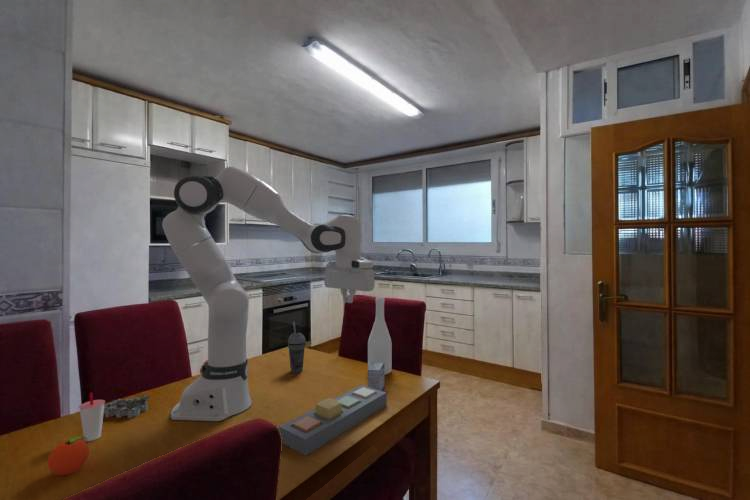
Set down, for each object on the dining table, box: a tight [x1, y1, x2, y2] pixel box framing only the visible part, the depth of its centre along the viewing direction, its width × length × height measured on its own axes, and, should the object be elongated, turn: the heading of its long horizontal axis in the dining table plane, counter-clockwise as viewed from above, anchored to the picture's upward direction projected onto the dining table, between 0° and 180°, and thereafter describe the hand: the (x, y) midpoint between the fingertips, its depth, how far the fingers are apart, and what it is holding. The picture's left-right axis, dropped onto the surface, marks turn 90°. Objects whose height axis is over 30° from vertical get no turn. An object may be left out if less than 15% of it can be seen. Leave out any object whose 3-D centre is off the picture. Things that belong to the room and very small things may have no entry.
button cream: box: [353, 387, 376, 399], centre depth 111 cm, size 5×5×4 cm
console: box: [278, 384, 388, 457], centre depth 101 cm, size 34×10×4 cm, turn 143°
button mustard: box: [315, 397, 341, 420], centre depth 98 cm, size 5×5×4 cm
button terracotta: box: [293, 416, 321, 433], centre depth 91 cm, size 5×5×4 cm
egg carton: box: [104, 395, 151, 419], centre depth 106 cm, size 11×8×4 cm
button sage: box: [337, 396, 359, 409], centre depth 104 cm, size 5×5×4 cm
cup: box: [78, 392, 106, 442], centre depth 92 cm, size 5×5×12 cm
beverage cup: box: [287, 321, 307, 374], centre depth 141 cm, size 7×7×20 cm
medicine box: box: [367, 363, 385, 392], centre depth 123 cm, size 8×4×9 cm, turn 168°
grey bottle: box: [367, 296, 393, 376], centre depth 141 cm, size 10×10×30 cm
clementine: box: [47, 436, 90, 476], centre depth 79 cm, size 8×7×7 cm
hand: (348, 302), depth 121 cm, fingers closed
